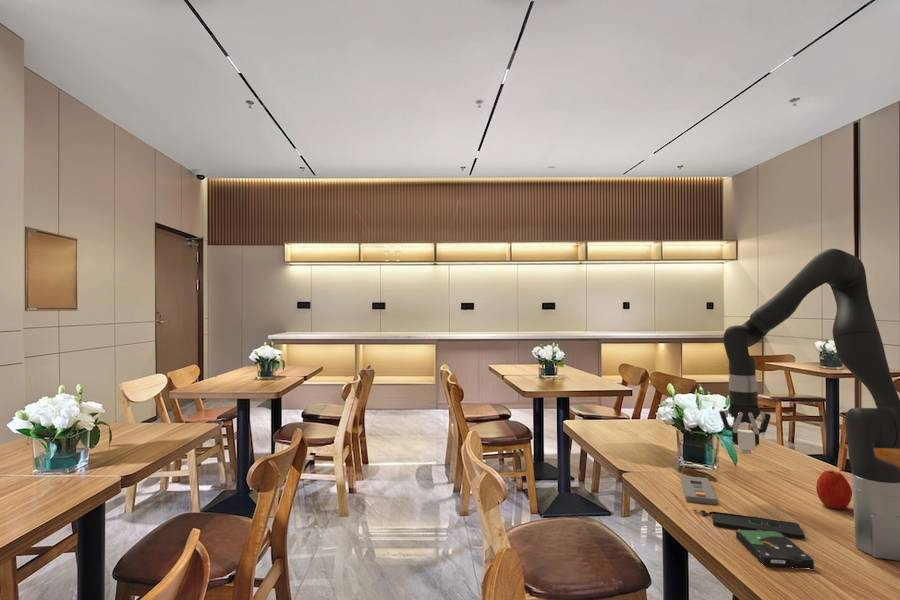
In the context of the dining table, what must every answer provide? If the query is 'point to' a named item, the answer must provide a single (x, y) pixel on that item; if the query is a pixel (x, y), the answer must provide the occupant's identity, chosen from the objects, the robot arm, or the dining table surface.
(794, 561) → the disk drive
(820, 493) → the apple
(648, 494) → the dining table surface
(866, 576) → the dining table surface
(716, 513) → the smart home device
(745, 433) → the charger
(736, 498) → the dining table surface
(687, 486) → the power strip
